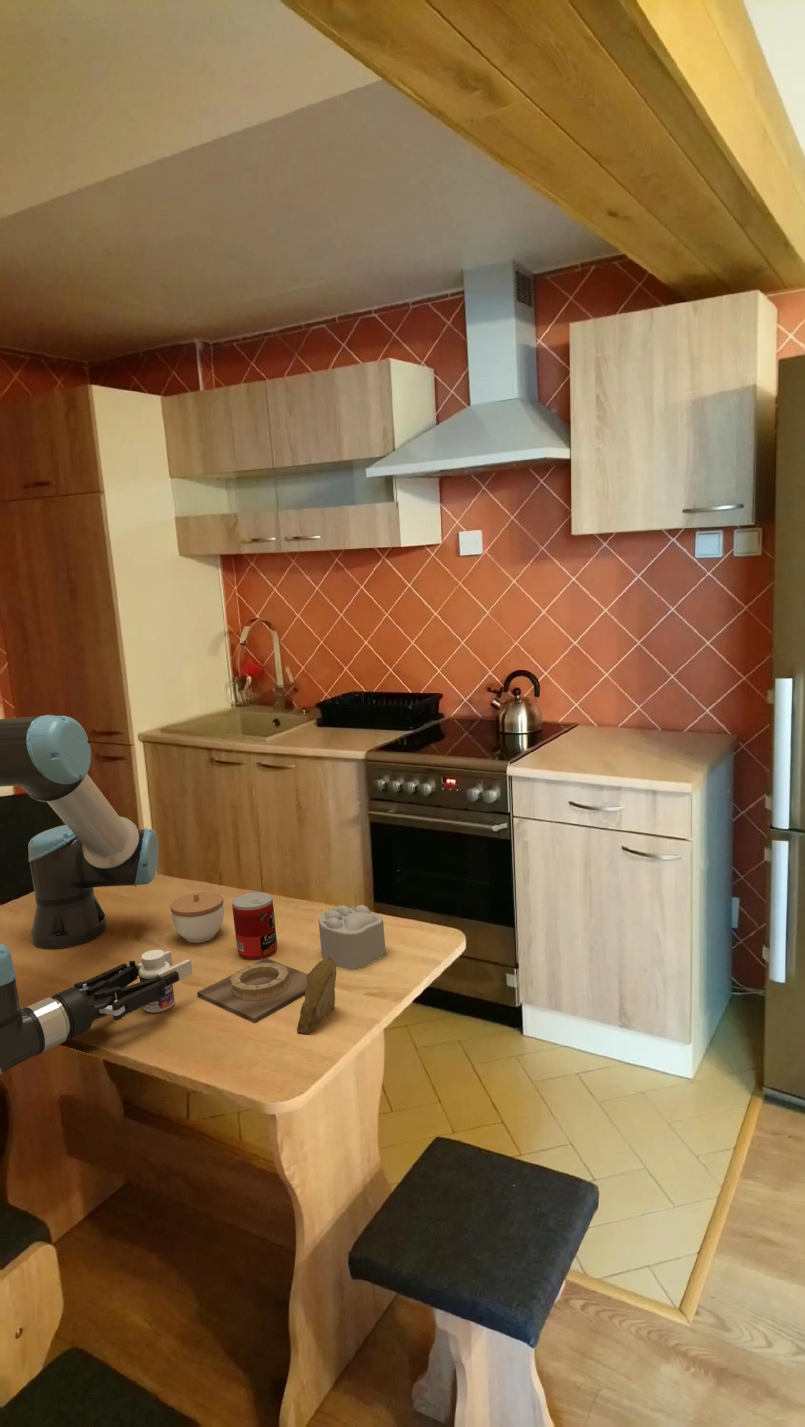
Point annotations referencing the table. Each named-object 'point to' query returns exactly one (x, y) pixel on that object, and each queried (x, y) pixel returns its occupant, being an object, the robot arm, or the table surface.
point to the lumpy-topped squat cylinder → (352, 936)
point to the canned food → (254, 925)
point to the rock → (318, 995)
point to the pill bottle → (152, 966)
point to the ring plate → (256, 1006)
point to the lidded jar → (198, 915)
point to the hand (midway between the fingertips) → (180, 962)
